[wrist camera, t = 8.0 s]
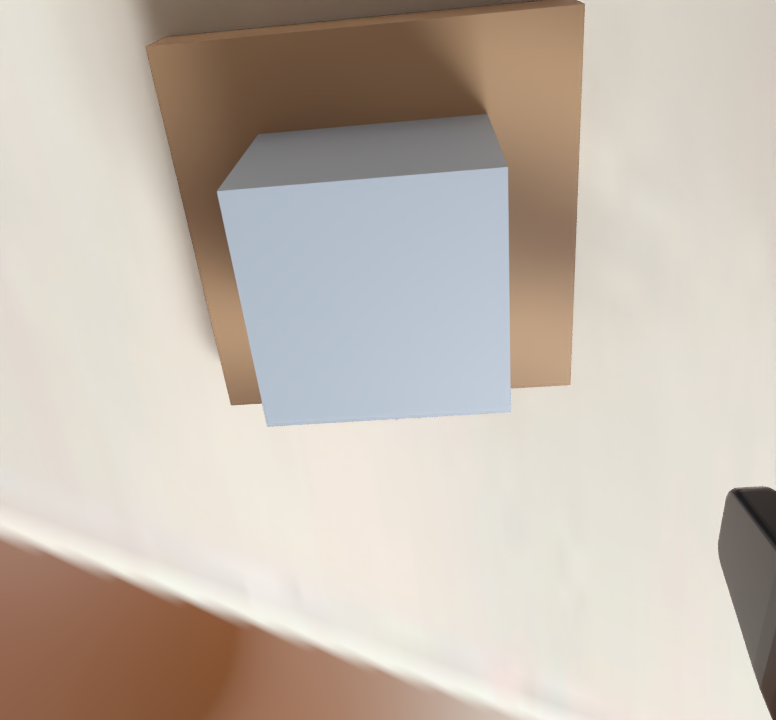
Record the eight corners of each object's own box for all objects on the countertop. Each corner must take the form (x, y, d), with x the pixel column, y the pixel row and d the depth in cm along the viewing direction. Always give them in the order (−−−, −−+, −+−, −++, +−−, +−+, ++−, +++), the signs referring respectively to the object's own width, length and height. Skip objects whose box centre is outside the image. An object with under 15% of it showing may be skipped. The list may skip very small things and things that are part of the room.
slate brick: (492, 320, 18) (510, 412, 15) (293, 333, 19) (267, 426, 15) (487, 114, 16) (508, 166, 12) (258, 134, 16) (216, 191, 13)
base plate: (560, 355, 21) (570, 384, 19) (242, 375, 21) (231, 405, 20) (571, -3, 16) (584, 4, 15) (166, 37, 17) (145, 46, 15)
